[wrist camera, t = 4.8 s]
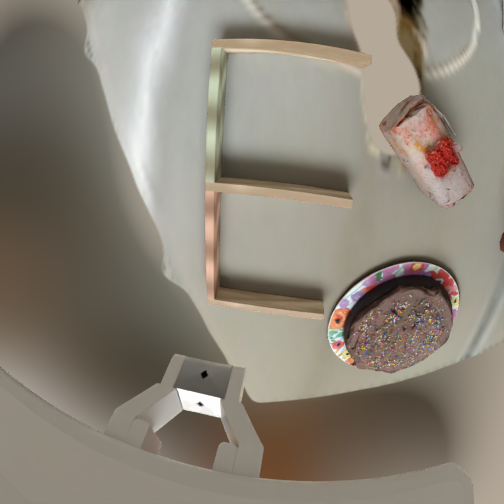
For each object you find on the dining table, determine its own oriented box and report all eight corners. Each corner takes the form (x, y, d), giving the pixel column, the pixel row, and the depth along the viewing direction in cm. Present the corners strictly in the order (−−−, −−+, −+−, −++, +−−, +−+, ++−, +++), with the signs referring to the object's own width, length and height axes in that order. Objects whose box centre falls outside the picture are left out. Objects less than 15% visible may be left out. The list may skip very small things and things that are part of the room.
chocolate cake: (298, 310, 47) (297, 336, 42) (435, 227, 36) (453, 246, 30) (362, 379, 55) (365, 401, 50) (465, 323, 44) (476, 344, 38)
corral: (219, 45, 28) (212, 39, 25) (364, 60, 26) (371, 55, 23) (212, 291, 47) (207, 303, 44) (321, 306, 46) (322, 319, 43)
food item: (367, 124, 31) (391, 128, 22) (405, 91, 27) (439, 88, 19) (420, 198, 34) (451, 224, 25) (454, 167, 30) (491, 186, 22)
